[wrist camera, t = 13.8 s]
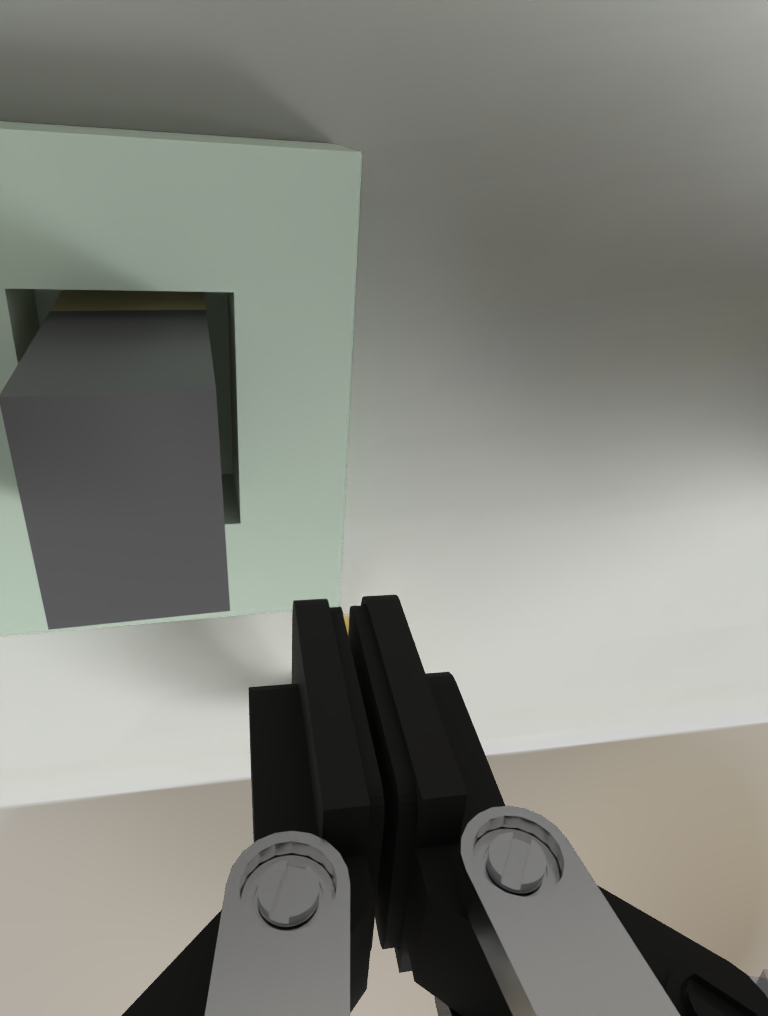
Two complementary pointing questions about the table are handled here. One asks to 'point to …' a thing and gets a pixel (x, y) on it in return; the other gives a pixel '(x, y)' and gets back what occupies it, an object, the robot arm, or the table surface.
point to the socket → (230, 316)
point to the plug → (120, 458)
